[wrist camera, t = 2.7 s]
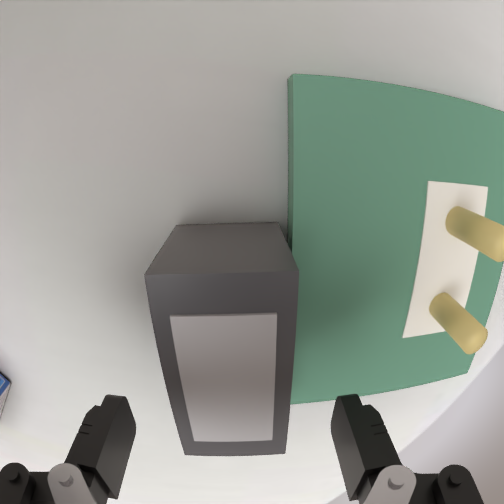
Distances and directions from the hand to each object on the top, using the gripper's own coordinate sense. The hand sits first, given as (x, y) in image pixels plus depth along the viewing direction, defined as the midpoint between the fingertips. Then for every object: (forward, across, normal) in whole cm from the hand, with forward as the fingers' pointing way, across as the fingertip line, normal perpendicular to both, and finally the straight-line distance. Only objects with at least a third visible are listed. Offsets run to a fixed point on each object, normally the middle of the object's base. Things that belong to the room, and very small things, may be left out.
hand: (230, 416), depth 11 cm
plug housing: (+7, 0, 0) cm, 7 cm away
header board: (+7, -10, -4) cm, 13 cm away
